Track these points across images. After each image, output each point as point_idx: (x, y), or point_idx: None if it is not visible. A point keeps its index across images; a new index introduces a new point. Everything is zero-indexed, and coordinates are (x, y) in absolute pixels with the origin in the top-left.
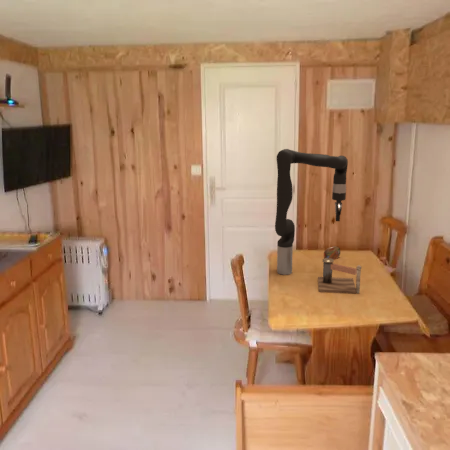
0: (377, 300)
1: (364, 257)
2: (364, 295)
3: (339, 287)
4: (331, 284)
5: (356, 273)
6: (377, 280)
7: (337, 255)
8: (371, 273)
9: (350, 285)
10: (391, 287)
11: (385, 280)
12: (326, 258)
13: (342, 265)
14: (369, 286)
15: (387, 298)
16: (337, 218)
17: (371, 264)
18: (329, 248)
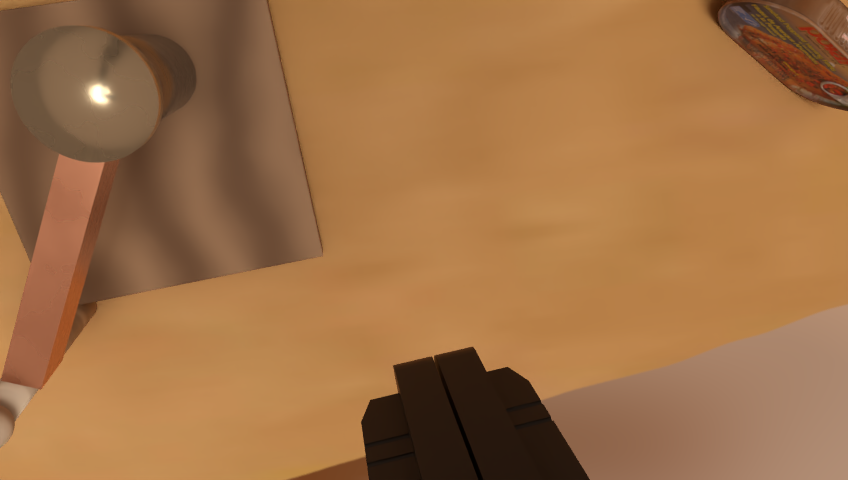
0: None
1: (811, 268)
2: None
3: None
4: None
5: (59, 362)
6: (380, 388)
7: (814, 89)
8: (503, 342)
9: (156, 258)
10: (281, 468)
11: None
12: (133, 70)
13: (76, 254)
14: (247, 359)
15: (74, 472)
16: (372, 476)
17: (676, 323)
18: (833, 24)
